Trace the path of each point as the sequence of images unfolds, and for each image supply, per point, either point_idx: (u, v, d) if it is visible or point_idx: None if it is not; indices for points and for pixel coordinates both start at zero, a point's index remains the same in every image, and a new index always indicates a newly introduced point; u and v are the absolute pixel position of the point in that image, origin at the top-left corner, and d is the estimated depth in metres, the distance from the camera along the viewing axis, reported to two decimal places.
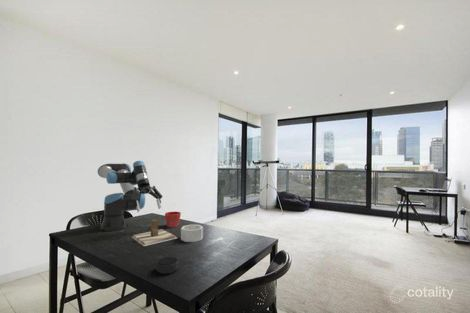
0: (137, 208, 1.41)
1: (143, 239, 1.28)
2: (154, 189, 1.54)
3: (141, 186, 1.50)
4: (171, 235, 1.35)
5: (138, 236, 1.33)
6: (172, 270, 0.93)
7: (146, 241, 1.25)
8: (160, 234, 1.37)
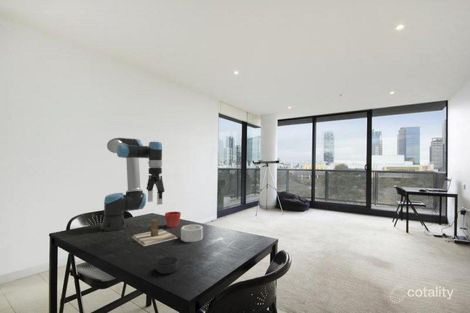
0: None
1: (143, 239, 1.28)
2: (157, 180, 1.31)
3: (151, 175, 1.37)
4: (171, 235, 1.35)
5: (138, 236, 1.33)
6: (172, 270, 0.93)
7: (146, 241, 1.25)
8: (160, 234, 1.37)
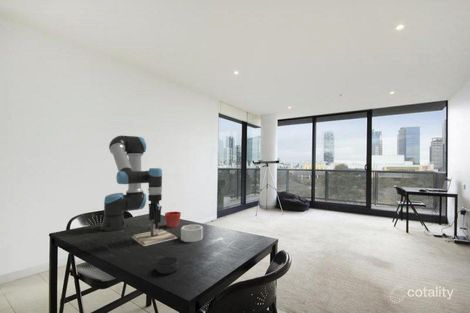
0: None
1: (143, 239, 1.28)
2: None
3: (151, 200, 1.37)
4: (171, 235, 1.35)
5: (138, 236, 1.33)
6: (172, 270, 0.93)
7: (146, 241, 1.25)
8: (160, 234, 1.37)
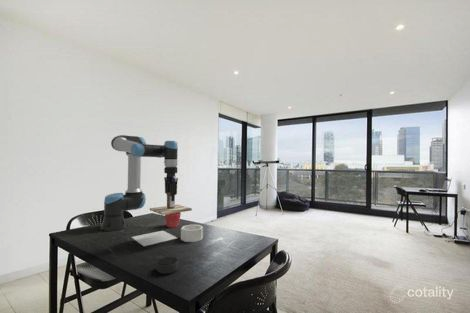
0: None
1: (160, 210, 1.27)
2: (172, 182, 1.31)
3: (167, 173, 1.37)
4: (187, 208, 1.34)
5: (154, 208, 1.33)
6: (172, 270, 0.93)
7: (163, 211, 1.24)
8: (176, 207, 1.36)
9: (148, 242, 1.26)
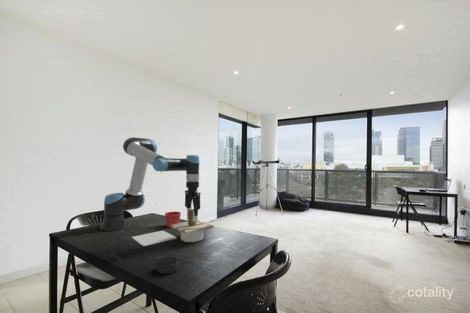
0: None
1: (183, 228, 1.27)
2: None
3: (188, 188, 1.36)
4: (209, 225, 1.34)
5: (176, 226, 1.32)
6: (172, 270, 0.93)
7: (187, 230, 1.24)
8: (197, 224, 1.36)
9: (148, 242, 1.26)
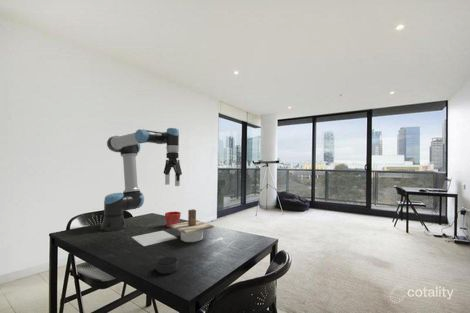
0: None
1: (183, 228, 1.27)
2: None
3: (169, 159, 1.47)
4: (209, 225, 1.34)
5: (176, 226, 1.32)
6: (172, 270, 0.93)
7: (187, 230, 1.24)
8: (197, 224, 1.36)
9: (148, 242, 1.26)
